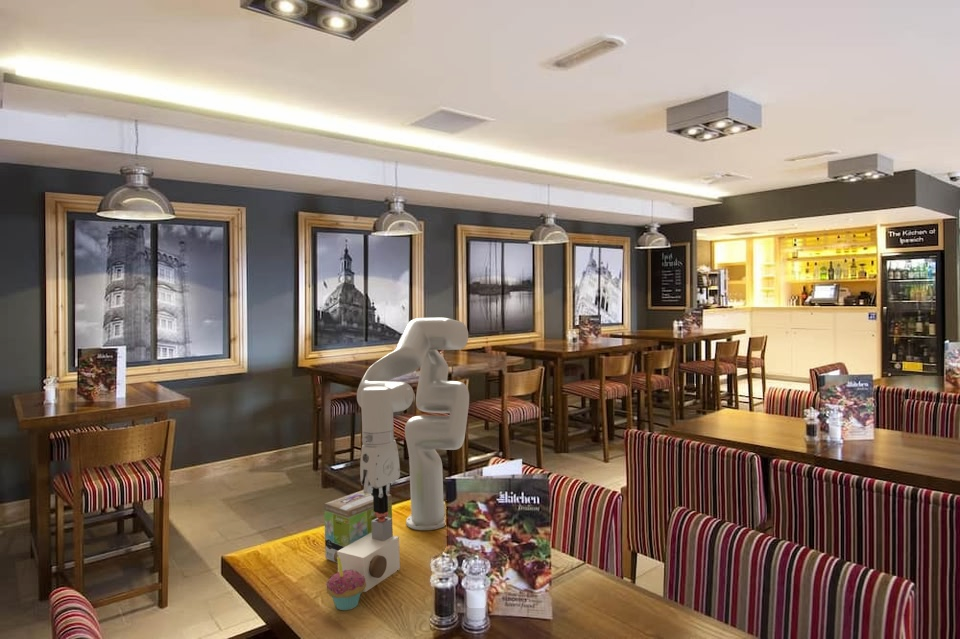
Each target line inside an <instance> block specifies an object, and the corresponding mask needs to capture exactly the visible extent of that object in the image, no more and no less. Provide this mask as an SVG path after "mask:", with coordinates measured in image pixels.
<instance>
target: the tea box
mask: <svg viewBox="0 0 960 639" xmlns="http://www.w3.org/2000/svg"><path fill="white" fill-rule="evenodd" d="M363 491H364V489H362V490H359V491H357V492H353V493H350V494H348V495H344V496H342V497H339V498H337V499H334V500H331V501H328V502H324V543H325V544H324V548H325V549H324V550H325V551H324V553H325V554H324V555H325V559H327V560H328V561H331V562H333V563H336V564H338V562H336V561H334V554H335V552H336V551H338V550H340V549H342V548H344V547H346V546H348V545H349V544H351V543H353V542H355V541H357V540H359V539H360V538H362V537H364V536H366V535H368V534H369V533H371V532H372V529H371V521H372V520H374V519H376V518H377V517H375V512H374V505H373V496H371V494H367V493H364V492H363ZM387 496H388V516H387V518H392V519H393V505H392V504H393V501H392V497H393V496H392V494H390V493H389V494H388V495H387Z"/></svg>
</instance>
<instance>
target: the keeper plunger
mask: <svg viewBox="0 0 960 639" xmlns="http://www.w3.org/2000/svg"><path fill="white" fill-rule="evenodd" d="M387 516H388V511H387V512H385V513H383V514H382V513H377V512H375V517H377V518H378V521H379V522H384V521H385V517H387Z"/></svg>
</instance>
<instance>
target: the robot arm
mask: <svg viewBox="0 0 960 639" xmlns="http://www.w3.org/2000/svg"><path fill="white" fill-rule="evenodd" d="M468 341H469V331H468V327H467V326H466V324H465V323H464V322H463V321H460V320H456V319H452V318H448V317H417V318H414V319H411V320H410V321H409V322H408V323H407V325H406V326H405V328H404V330H403V331H402V334H401V335H400V338H399V340H398V342H397V344H396V345H395V346H396V347H395V348H394V350H393V351H391V352H389V353H387V354H386V355H385V356H382V358H380V359H378V360H376V361H375V362H373V364H372V365H370V366H369V367H368V368H367V370H366V371H365V373H364V375H363V377H362V378H361V380H360V383H359V385H358V388H357V391H356V401H357V404H358V406H359V407H360V408H361V427H362V428H361V430H362V431H361V432H362V433H361V436H362V438H361V442H362V446H361V452H360V462H359V465H360V466H359V470H360V471H359V473H360V475H359V476H360V484H361V486H363V490H364V491H363V492H364V493H367V494H371V496H373V505H374V512H377V513H382V514H383V513H385V512H387V511H388V496H387V495H388V494H390V488H391V486H392V485H393V484H394V483H395V482H396V481H397V480H399V478H400V477H401V468H400V467H401V466H400V456H399V449H398V446H397V442H396V439H395V433H394V430H395V429H394V427H395V426H394V413H396V412H397V413H398V412H403V411H405V410H407V409H408V408H410V407H411V406H412V404H413V401H414V398H415V405H416V408H417V409H418V410H419V411H421V412H424V413H435V414H449V415H429V414H427V415H425V414H423V415H422V414H421V415H415V416H412V417H410V418H409V419H408V420H407V421H406V423H405V424H404V426H405V427H404V436H405V441H406V446H407V451H408V457H409V458H408V464H409V484H410V485H409V488H410V491H409V492H410V515H408V516H407V518H406V520H405V521H406V522H405V523H406V526H407V527H408V528H409V529H412V530H417V531H433V530H437V529H438V530H439V529H442V528H444V527H446V526H445V514H446V510H445V501H444V482H443V481H444V479H443V477H444V476H443V463H442V459H441V456H440V454H439V453H438V452H437V450H444V451H445V450H447V451H448V450H449V451H452V450H453V451H454V450H459V449H460V448H462V446H463V444H464V442H465V438H466V432H467V431H466V430H467V422H468V416H469V415H468V414H469V408H470V392H469V388H468V386H467V385H466V384H465V383H464V382H462V381H458V380H448V376H449V365H448V363H447V361H446V359H445V358H444V357H443V356H442V355H441V353H440V352H439V351H450V350H452V351H453V350H454V351H455V350H456V351H460V350H463V349H464V348H465V347H466V346H467V344H468ZM438 350H439V351H438ZM419 369H420V370H419ZM417 370H419V377H418V382H417V383H418V384H417V389H416V394H414V393H415V392H414V390H413V389H414V388H413V387H412V386H411V385H410V384H409V383H408V382H405V381H400V380H399V381H398V380H394V379H396V378H399V377H402V376H407V375H409V374H411V373H413V372H416V371H417ZM414 395H415V396H414Z"/></svg>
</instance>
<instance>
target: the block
mask: <svg viewBox="0 0 960 639" xmlns="http://www.w3.org/2000/svg"><path fill="white" fill-rule="evenodd" d="M371 529H372V532H371V533H369V534H368V535H366V536H364V537H362V538H360V539H359V540H357V541H355V542H353V543H351V544H349V545H348V546H346V547H344V548H342V549H340V550H338V551H337V555H338V556H337V558H338V557H340V560H341V566H342V571H344V570H354V571H357V572H359V573H361V574H362V575H363V576H364V578H365V582H366V587H365V589H364V590H363V591H362V592H361V593H366V592H367V591H369V590H371V589H372V588H374V587H375V586H376V585H378V584H380V583H381V582H383V581H384V580H385V579H387V578H388V577H391V576H392V575H393V574H395V573H396V572H398V571H399V570H401V556H400V554H401V553H400V537H399V536H397V535H394V533H393V531H394V530H393V517H392V518H387V517H385V521H384V522H379V521H378V518H376V519H374V520H372V521H371ZM377 555H380V556H384V557H385V558H386V561H387V566H386V570H385V572H384V574H383V575H382V576H381V577H380V578H375V577H372V576H371V575H370V572H369V567H370V561H372V559H373V558H374V557H375V556H377ZM397 570H398V571H397ZM337 572H339V567H338V566H337Z"/></svg>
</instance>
